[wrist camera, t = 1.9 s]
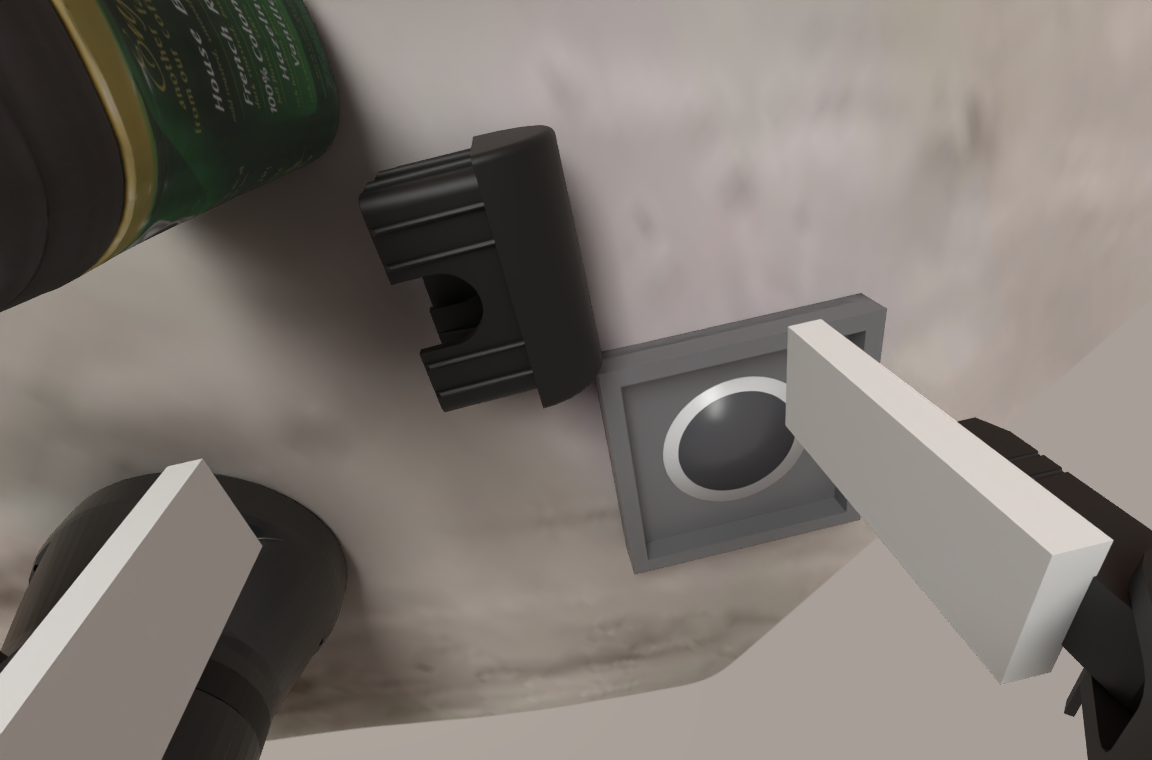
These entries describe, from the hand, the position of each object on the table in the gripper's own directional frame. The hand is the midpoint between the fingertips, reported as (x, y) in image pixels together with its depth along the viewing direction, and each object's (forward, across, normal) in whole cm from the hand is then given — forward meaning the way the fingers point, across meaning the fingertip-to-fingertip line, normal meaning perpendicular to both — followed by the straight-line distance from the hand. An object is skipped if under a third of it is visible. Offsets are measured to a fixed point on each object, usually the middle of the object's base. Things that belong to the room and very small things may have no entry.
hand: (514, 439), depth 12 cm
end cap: (+16, 0, 0) cm, 16 cm away
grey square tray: (+15, +11, -14) cm, 23 cm away
